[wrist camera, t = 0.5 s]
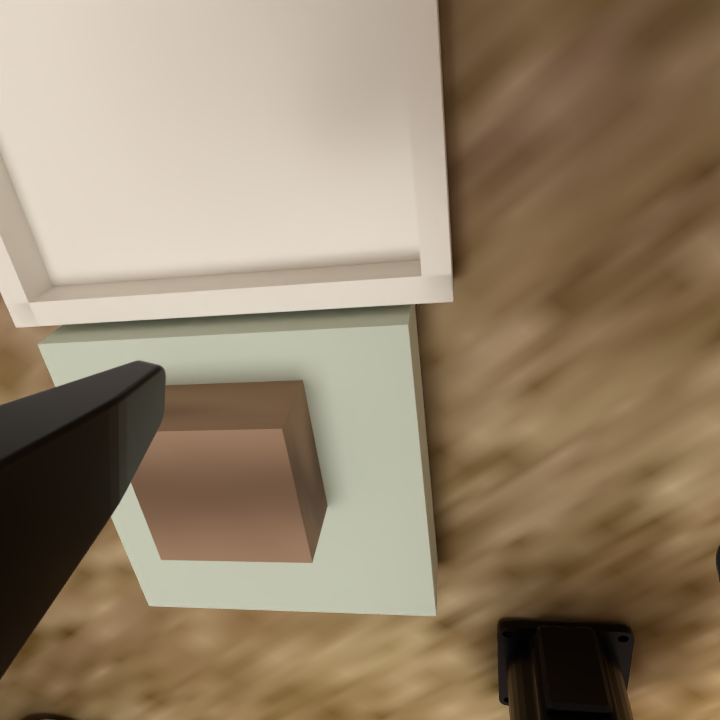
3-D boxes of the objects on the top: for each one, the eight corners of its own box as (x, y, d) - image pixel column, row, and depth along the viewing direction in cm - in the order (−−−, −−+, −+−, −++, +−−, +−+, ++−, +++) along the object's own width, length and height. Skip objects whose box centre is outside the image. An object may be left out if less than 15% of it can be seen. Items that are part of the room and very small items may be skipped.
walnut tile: (327, 505, 25) (312, 563, 22) (190, 505, 26) (161, 559, 23) (302, 380, 22) (281, 428, 19) (150, 386, 23) (111, 432, 20)
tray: (453, 280, 22) (452, 314, 20) (46, 306, 25) (-1, 339, 23) (423, -261, 15) (417, -318, 13) (-133, -133, 18) (-229, -158, 16)
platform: (437, 563, 29) (436, 616, 27) (174, 558, 32) (149, 605, 29) (413, 290, 23) (408, 324, 20) (80, 311, 25) (37, 344, 23)
